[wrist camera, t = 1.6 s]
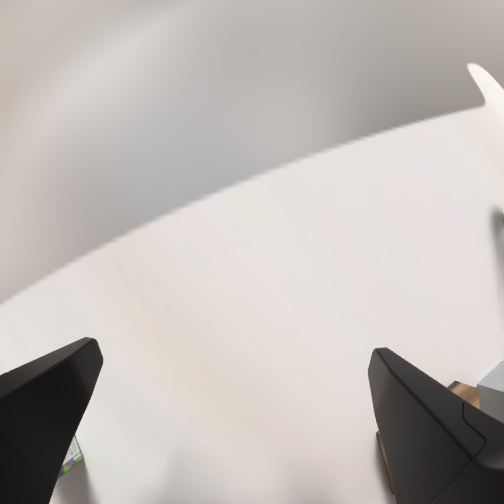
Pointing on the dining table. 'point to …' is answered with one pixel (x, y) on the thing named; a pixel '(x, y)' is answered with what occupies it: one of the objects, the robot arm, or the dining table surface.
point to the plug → (493, 393)
